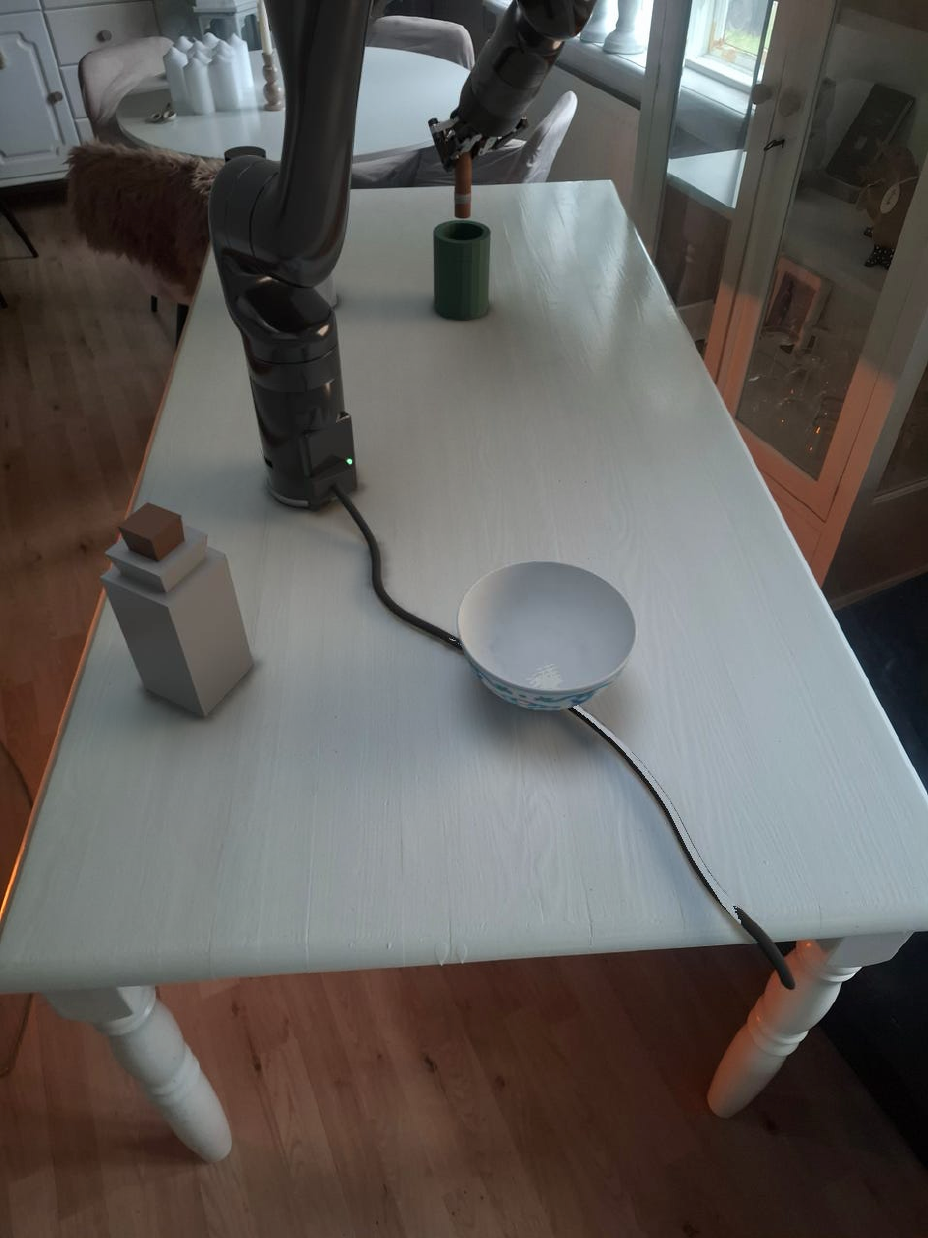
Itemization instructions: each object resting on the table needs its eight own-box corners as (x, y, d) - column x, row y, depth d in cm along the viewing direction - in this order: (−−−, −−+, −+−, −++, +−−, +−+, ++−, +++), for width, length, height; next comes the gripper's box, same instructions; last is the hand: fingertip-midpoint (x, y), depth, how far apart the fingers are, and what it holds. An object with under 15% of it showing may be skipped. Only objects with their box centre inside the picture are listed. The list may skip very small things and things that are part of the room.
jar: (498, 307, 126) (502, 231, 118) (461, 325, 122) (462, 248, 114) (460, 290, 130) (461, 214, 122) (423, 307, 126) (421, 230, 118)
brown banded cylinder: (474, 215, 117) (476, 134, 109) (462, 220, 115) (463, 138, 108) (462, 210, 118) (462, 130, 110) (450, 215, 116) (450, 134, 109)
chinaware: (522, 596, 84) (528, 537, 79) (655, 672, 78) (671, 612, 72) (421, 687, 76) (419, 628, 71) (560, 780, 70) (570, 722, 64)
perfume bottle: (144, 688, 76) (81, 532, 63) (195, 638, 80) (145, 482, 67) (205, 717, 74) (153, 562, 61) (253, 664, 78) (214, 509, 65)
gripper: (546, 43, 99) (493, 128, 115) (437, 56, 95) (398, 143, 111) (566, 108, 100) (510, 183, 116) (458, 124, 95) (416, 200, 112)
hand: (455, 163), depth 114 cm, fingers closed on brown banded cylinder, 2 cm apart
